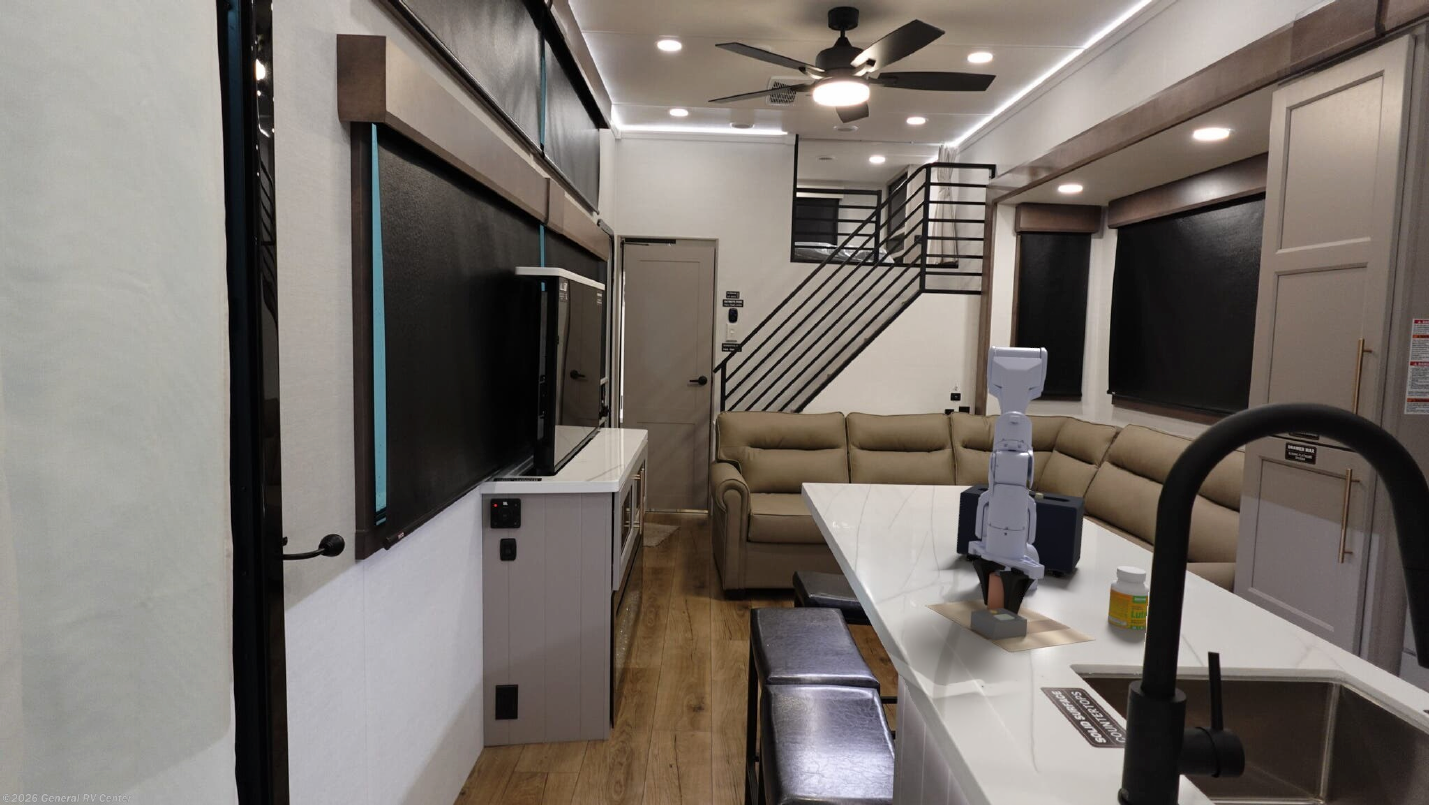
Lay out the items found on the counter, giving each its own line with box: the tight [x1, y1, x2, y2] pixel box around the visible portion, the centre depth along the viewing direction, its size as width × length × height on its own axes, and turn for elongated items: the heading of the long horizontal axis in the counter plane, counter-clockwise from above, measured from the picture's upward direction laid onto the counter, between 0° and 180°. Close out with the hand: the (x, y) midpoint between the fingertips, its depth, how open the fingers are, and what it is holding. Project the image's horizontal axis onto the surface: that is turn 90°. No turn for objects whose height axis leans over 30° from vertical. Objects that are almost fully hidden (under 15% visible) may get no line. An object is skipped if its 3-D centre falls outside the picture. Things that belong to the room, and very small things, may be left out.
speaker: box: [955, 483, 1086, 578], centre depth 153 cm, size 22×13×15 cm, turn 58°
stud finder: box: [970, 608, 1027, 640], centre depth 112 cm, size 6×5×3 cm
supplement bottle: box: [1107, 565, 1150, 630], centre depth 118 cm, size 5×5×10 cm
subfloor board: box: [925, 598, 1097, 653], centre depth 116 cm, size 16×19×1 cm
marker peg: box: [987, 570, 1005, 610], centre depth 120 cm, size 4×4×7 cm
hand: (1000, 609), depth 120 cm, fingers closed on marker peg, 4 cm apart
